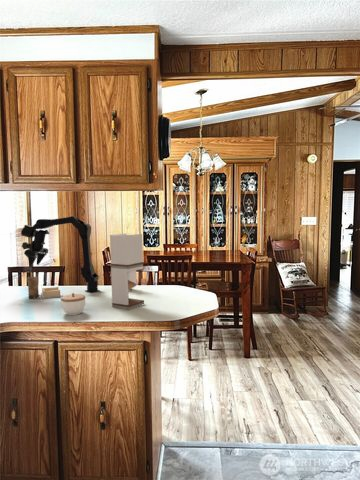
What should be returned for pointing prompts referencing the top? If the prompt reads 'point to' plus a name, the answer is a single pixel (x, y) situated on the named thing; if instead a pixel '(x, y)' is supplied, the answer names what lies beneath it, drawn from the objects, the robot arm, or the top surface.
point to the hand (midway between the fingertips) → (34, 265)
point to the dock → (51, 292)
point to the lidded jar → (73, 303)
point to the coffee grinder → (125, 268)
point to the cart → (33, 287)
